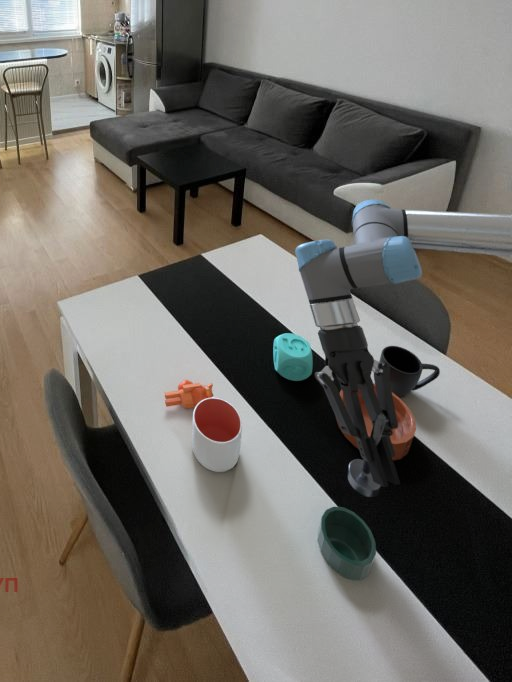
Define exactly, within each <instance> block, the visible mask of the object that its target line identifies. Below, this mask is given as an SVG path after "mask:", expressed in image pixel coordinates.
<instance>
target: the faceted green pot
mask: <svg viewBox="0 0 512 682" xmlns="http://www.w3.org/2000/svg"><path fill="white" fill-rule="evenodd" d="M319 522H320V523H319V526H318V529H317V530H318V531H317V544H318V547H319V551H320V553H321V556H322V557H323V559H324V560H325V562H326V563H327V564H328V566H329V567H330V568H331V569H332V570H333V571H334V572H335V573H337V574H338V575H340V576H342V577H343V578H345V579H348V580H352V581H360V580H363V579H364V578H366V577H368V575H369V574H370V571H371V569H372V567H373V564H374V561H375V557H376V555H377V544H376V543H377V542H376V540H375V538H374V535H373V533H372V530H371V528H370V527H369V526H368V524H367V523H366V522H365V521H364V519H363V518H361V517H360V516H359V515H358V514H357V513H355V512H354V511H352V510H350V509H348V508H346V507H343V506H331V507H329V508H327V509H325V511H324V512H323V514H322V516H321V519H320V521H319Z"/></svg>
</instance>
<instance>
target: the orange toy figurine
mask: <svg viewBox="0 0 512 682" xmlns="http://www.w3.org/2000/svg"><path fill="white" fill-rule="evenodd" d="M212 389H213V383H212V382H211V383H209V384H207V385H203V384H202V383H201V382H194V383H193V382H192V381H191V380H188V379H183V380H182V382H179V384H178V385H177V390H174V391H173V390H172V391H166V392H164V398H165V400H164V404H165V407H166V408H168V407H174V406H181V407H184V409H191V408H195V407H196V405H197V404H198V403H199V402H200V401H202V400H204V399H207V398H214V393H213V390H212Z"/></svg>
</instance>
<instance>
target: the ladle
mask: <svg viewBox="0 0 512 682" xmlns="http://www.w3.org/2000/svg"><path fill="white" fill-rule="evenodd" d="M385 422H386V417H385V416H384V415H383V414H382V413H378V414H377V415H376V417H375V421H374V425H373V428H372V432H371V436H370V437H371V438H374V441H375V445H376V448H377V450H378V446H379V443H380V440H381V436H382V433H383V429H384V426H385ZM346 474H347V475H346V477H347V480H348V483H349V484H350V486H351V487H352V488H353V490H355V491H356V492H357V493H358V494H360V495H361V496H363V497H367V498H374V497H376V496H377V495H379V493H380V491H381V487H382V486H381V485H379V484H377V483H375V482H373V479H372V475H371V472H370V469H369V465H368V462H367V461H366V460H364V459H360V458H356V459H353V460H351V461H350V462H349V464H348V469H347V472H346Z"/></svg>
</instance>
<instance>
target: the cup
mask: <svg viewBox="0 0 512 682" xmlns="http://www.w3.org/2000/svg"><path fill="white" fill-rule="evenodd" d="M191 429H192V430H191V433H192V434H191V448H192V451H193V455H194V457H195V458H196V460H197V462H199V464H200V465H201V466H203V467H204V468H206V469H207V470H209V471H212V472H216V473H225V472H227V471H231V469H233V468H234V467H235V466H236V464H237V462H238V460H239V459H240V458H239V457H240V451H241V450H240V449H241V443H242V441H241V440H242V431H243V422H242V418H241V415H240V412H239V411H238V409H236V407H235V406H234V405H233V404H232V403H230V402H228V401H227V400H225V399H224V398H223V399H222V398H219V397H212V398H207V399H204V400H202V401H200V402H199V403H198V404H197V405H196V407H194V408H193V412H192V428H191Z"/></svg>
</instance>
